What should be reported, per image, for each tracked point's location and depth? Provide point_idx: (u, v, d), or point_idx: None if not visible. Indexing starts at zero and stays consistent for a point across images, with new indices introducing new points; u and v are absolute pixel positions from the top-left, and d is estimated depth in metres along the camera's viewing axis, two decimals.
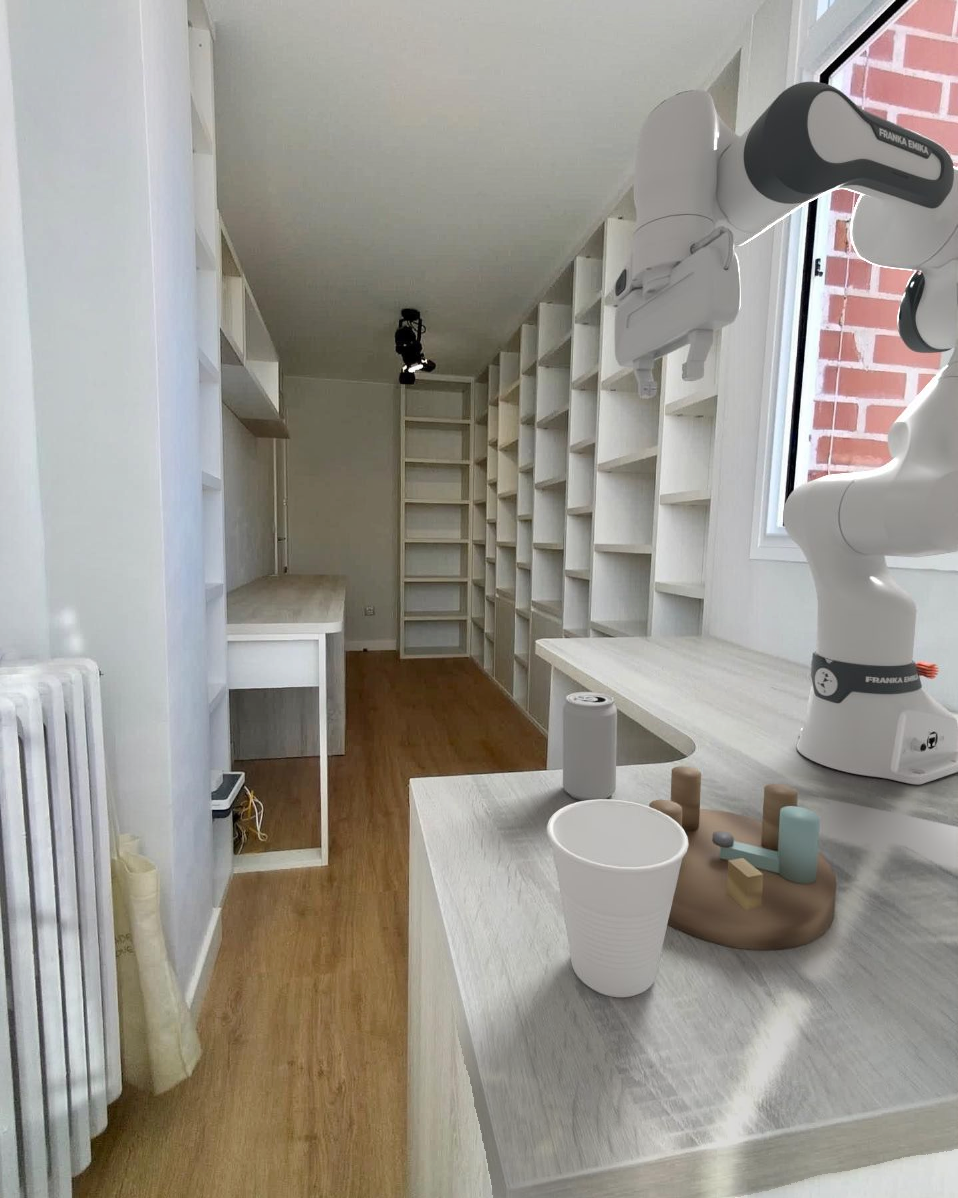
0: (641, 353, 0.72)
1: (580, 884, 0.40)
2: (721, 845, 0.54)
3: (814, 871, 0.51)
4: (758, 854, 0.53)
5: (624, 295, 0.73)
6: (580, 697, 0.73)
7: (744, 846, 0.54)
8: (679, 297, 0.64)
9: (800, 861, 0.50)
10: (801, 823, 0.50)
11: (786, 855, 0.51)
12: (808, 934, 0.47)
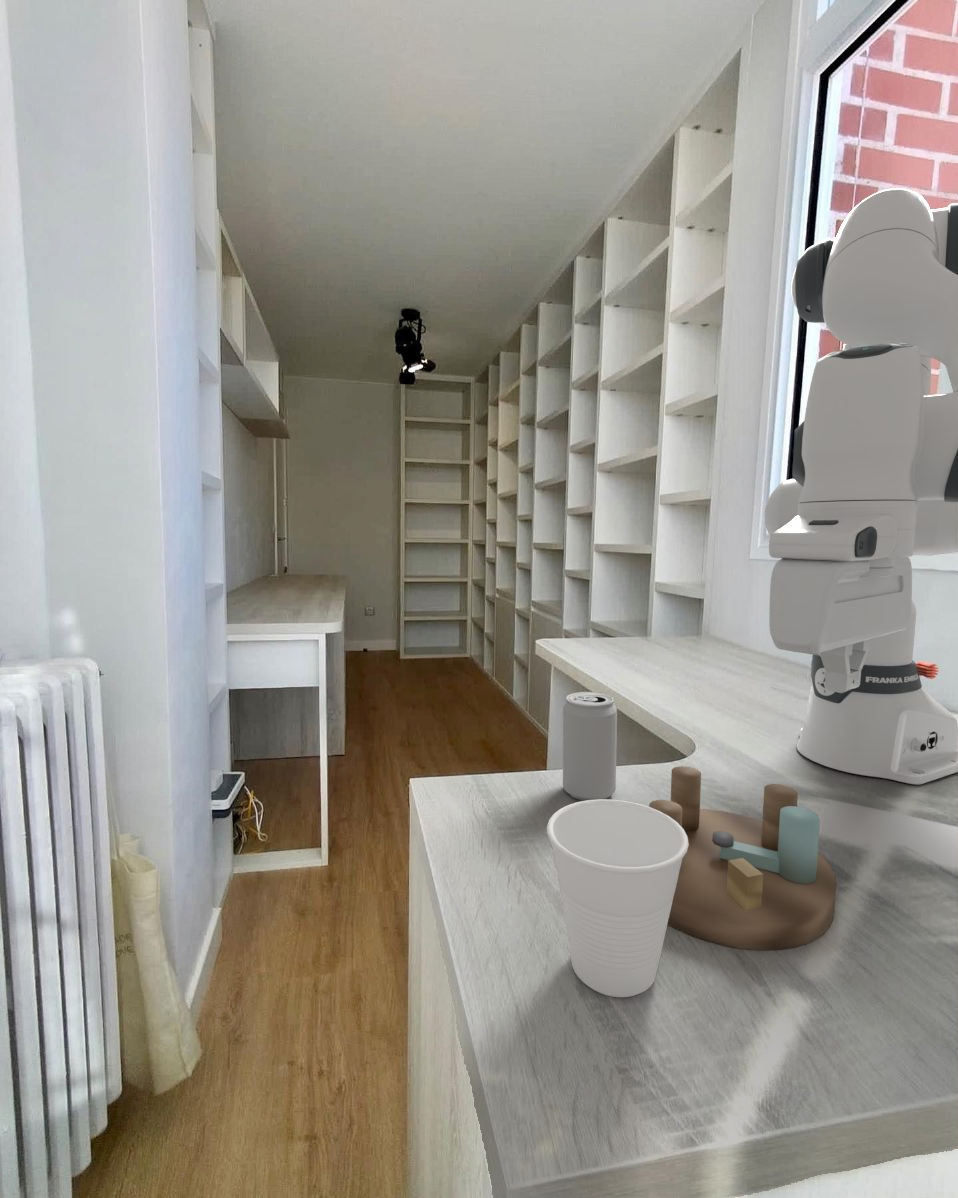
0: (847, 645, 0.51)
1: (580, 884, 0.40)
2: (721, 845, 0.54)
3: (814, 871, 0.51)
4: (758, 854, 0.53)
5: (858, 560, 0.47)
6: (580, 697, 0.73)
7: (744, 846, 0.54)
8: (891, 595, 0.55)
9: (800, 861, 0.50)
10: (801, 823, 0.50)
11: (786, 855, 0.51)
12: (808, 934, 0.47)
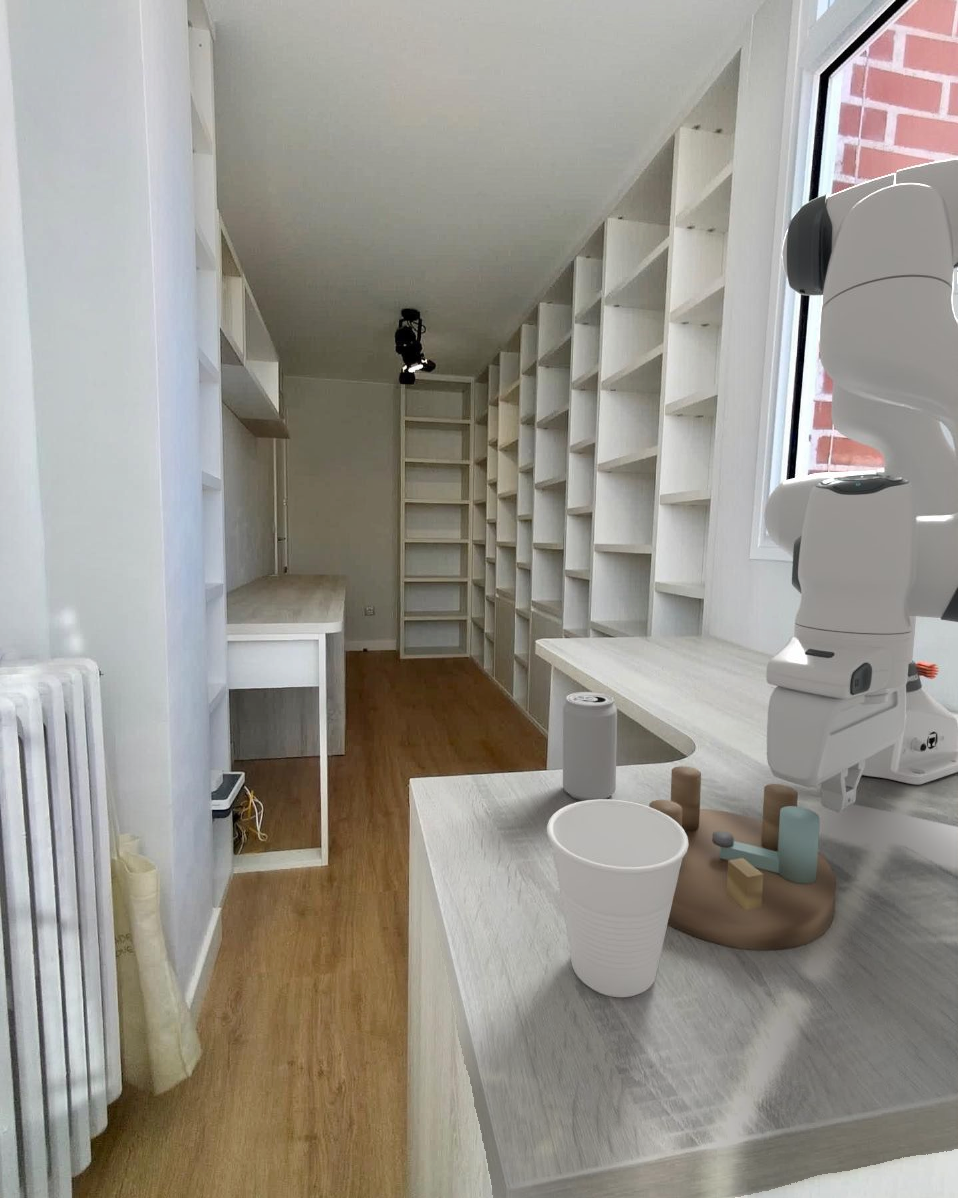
0: (843, 770, 0.51)
1: (580, 884, 0.40)
2: (721, 845, 0.54)
3: (814, 871, 0.51)
4: (758, 854, 0.53)
5: None
6: (580, 697, 0.73)
7: (744, 846, 0.54)
8: (886, 713, 0.56)
9: (800, 861, 0.50)
10: (801, 823, 0.50)
11: (786, 855, 0.51)
12: (808, 934, 0.47)
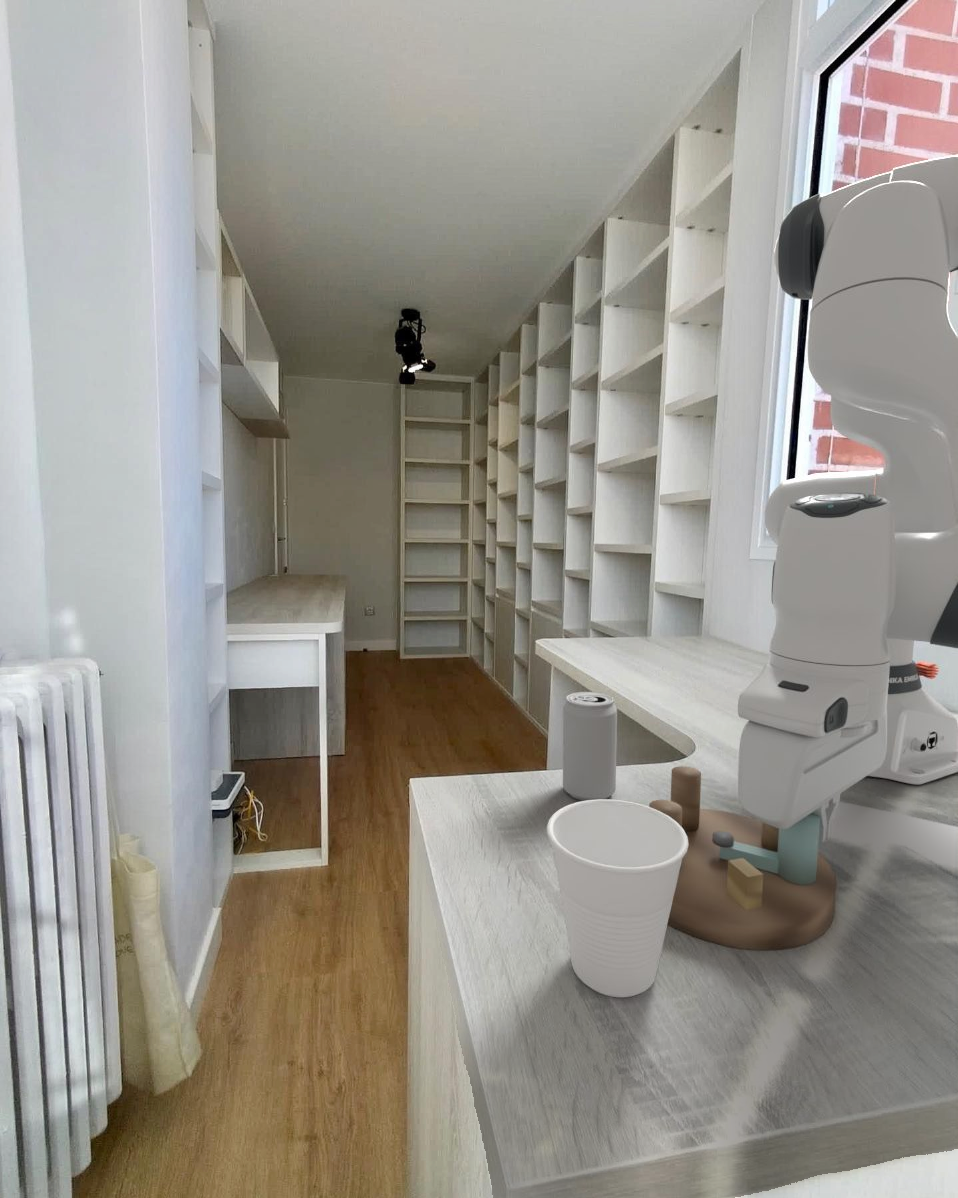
0: (819, 807, 0.49)
1: (580, 884, 0.40)
2: (721, 845, 0.54)
3: (814, 872, 0.51)
4: (758, 855, 0.53)
5: None
6: (580, 697, 0.73)
7: (744, 846, 0.54)
8: (865, 741, 0.53)
9: (799, 862, 0.50)
10: (800, 824, 0.50)
11: (785, 856, 0.51)
12: (808, 934, 0.47)
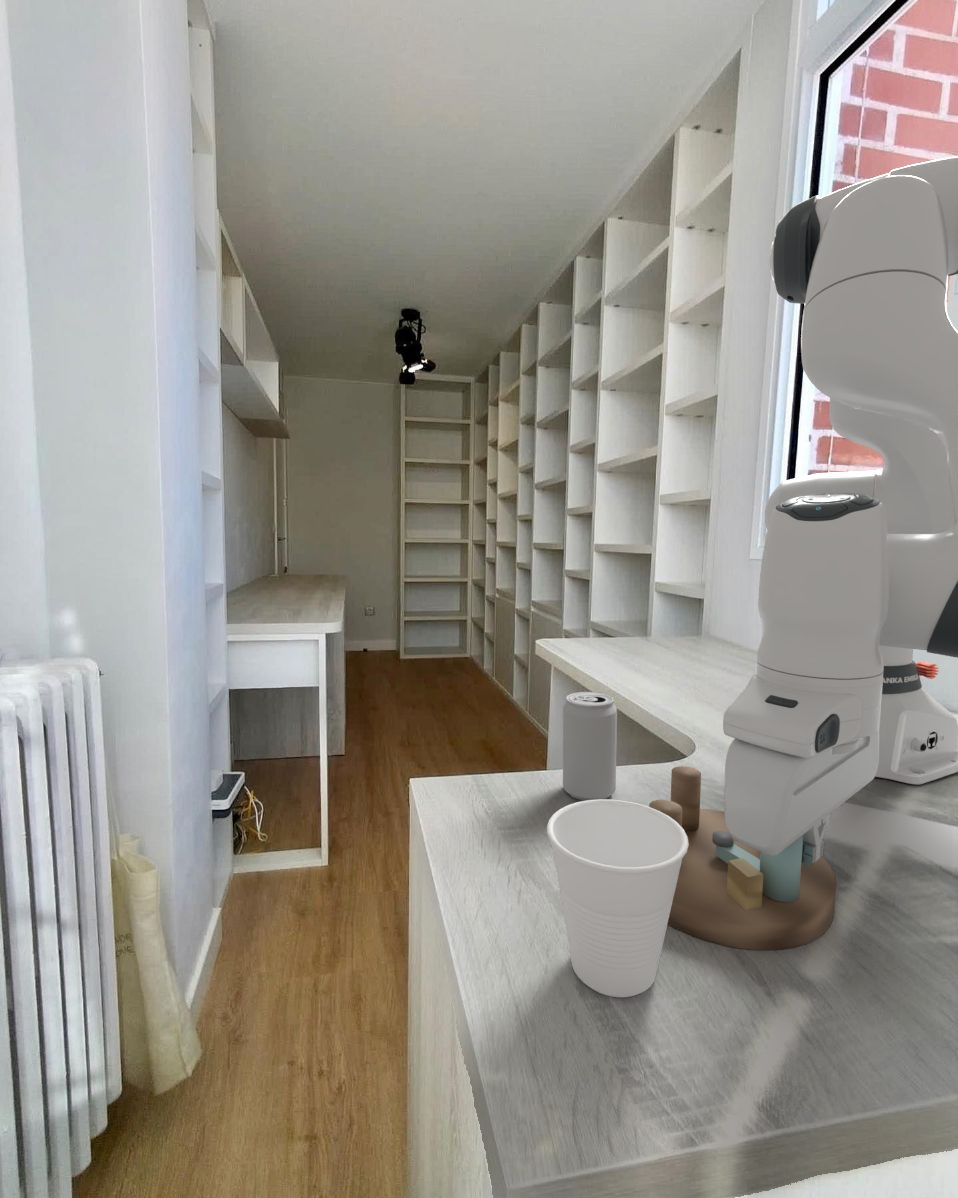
0: (810, 828, 0.46)
1: (580, 884, 0.40)
2: (715, 843, 0.55)
3: (788, 891, 0.48)
4: None
5: None
6: (580, 697, 0.73)
7: (740, 851, 0.53)
8: (857, 755, 0.50)
9: (770, 874, 0.49)
10: None
11: (761, 866, 0.50)
12: (808, 934, 0.47)
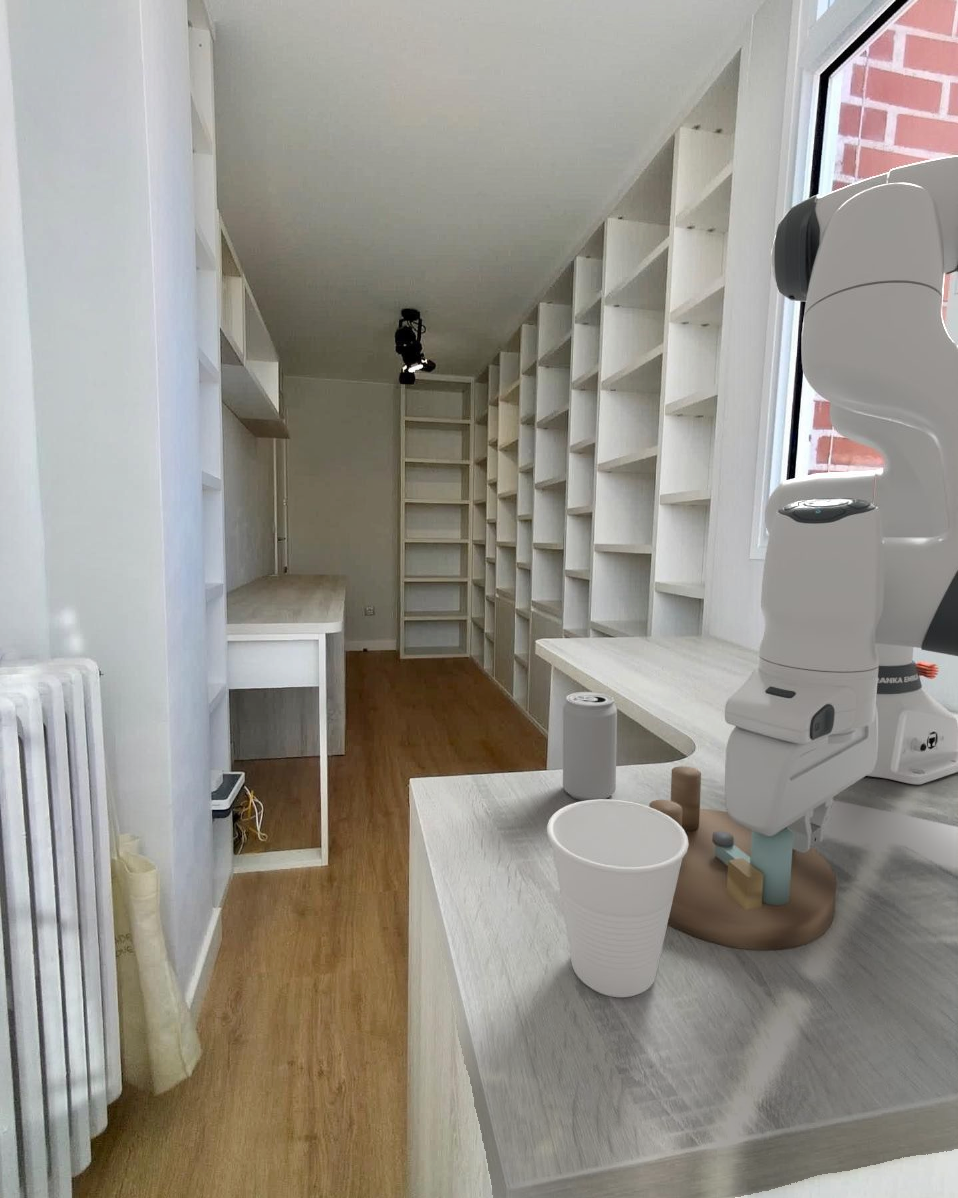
0: (807, 813, 0.49)
1: (580, 884, 0.40)
2: (714, 842, 0.55)
3: (774, 893, 0.48)
4: None
5: None
6: (580, 697, 0.73)
7: (738, 852, 0.53)
8: (855, 747, 0.53)
9: None
10: (758, 836, 0.48)
11: None
12: (808, 934, 0.47)
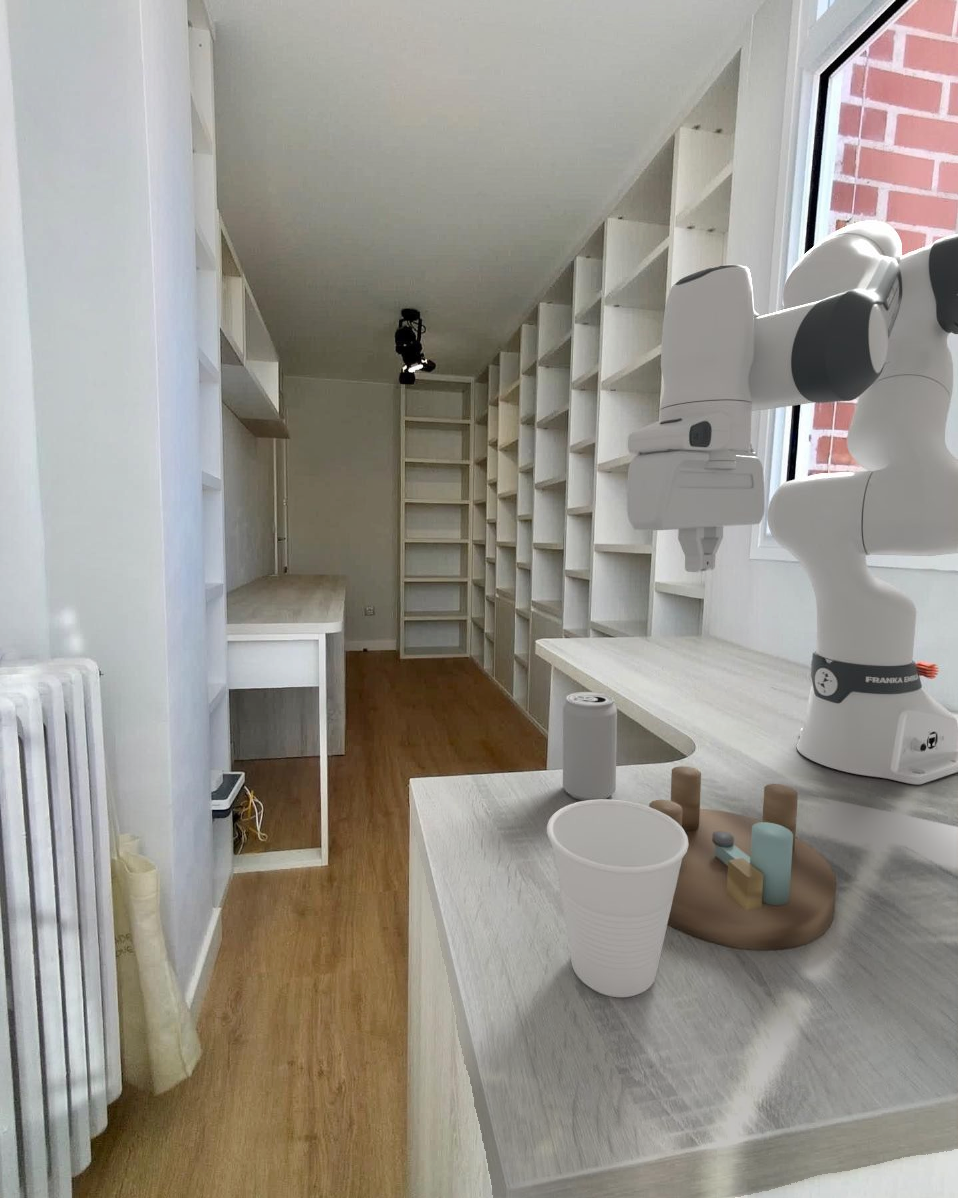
0: (695, 527, 0.60)
1: (580, 884, 0.40)
2: (714, 842, 0.55)
3: (774, 893, 0.48)
4: None
5: (695, 450, 0.57)
6: (580, 697, 0.73)
7: (738, 852, 0.53)
8: (740, 490, 0.64)
9: None
10: (757, 836, 0.48)
11: None
12: (808, 934, 0.47)
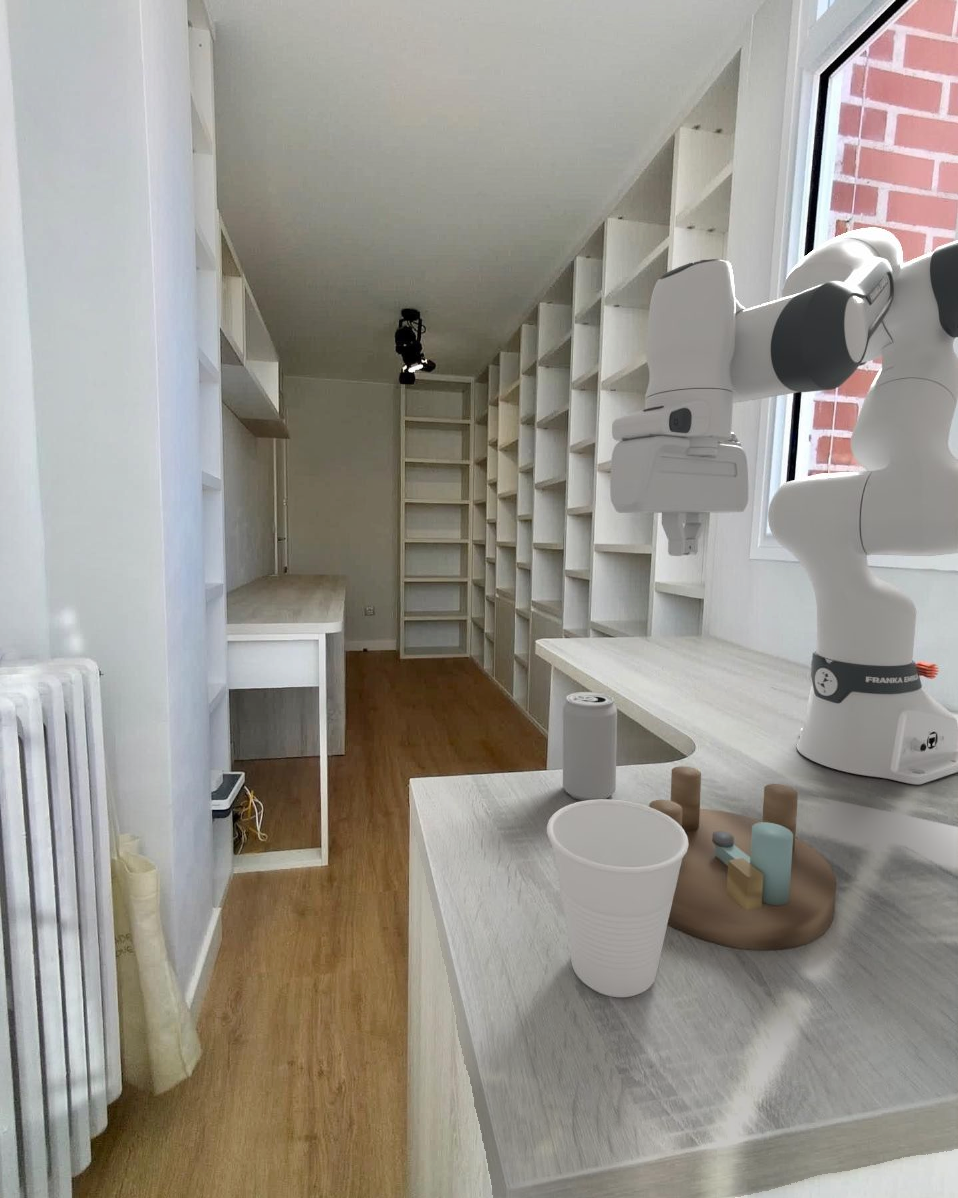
0: (677, 511, 0.62)
1: (580, 884, 0.40)
2: (714, 842, 0.55)
3: (774, 893, 0.48)
4: None
5: (676, 436, 0.59)
6: (580, 697, 0.73)
7: (738, 852, 0.53)
8: (723, 478, 0.66)
9: None
10: (757, 836, 0.48)
11: None
12: (808, 934, 0.47)
